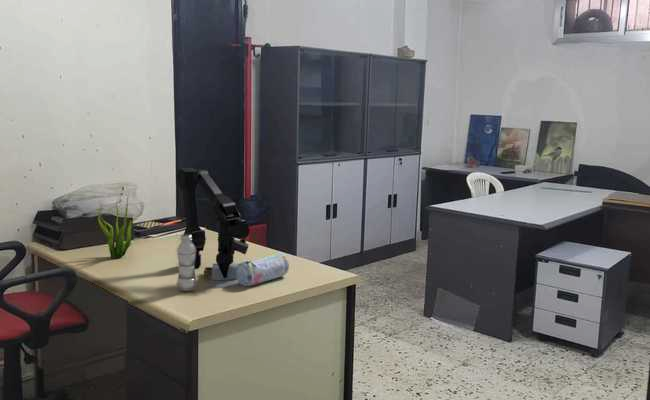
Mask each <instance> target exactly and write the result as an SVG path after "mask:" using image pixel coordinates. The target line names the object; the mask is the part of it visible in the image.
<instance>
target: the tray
mask: <svg viewBox="0 0 650 400" xmlns="http://www.w3.org/2000/svg"><path fill="white" fill-rule="evenodd" d="M203 279H204V280H212V267H211V266H209V267H207V266H205V267H204V270H203Z"/></svg>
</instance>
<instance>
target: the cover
mask: <svg viewBox="0 0 650 400" xmlns="http://www.w3.org/2000/svg"><path fill="white" fill-rule="evenodd" d="M239 263H240V262H239ZM239 263H237V262H236V263H234V262H233V263H231V264H230V265H229V269H228V274H227V278H224V277H223V275H222V273H221V270H220V268H219V266H218V264H217V263H212V279H211V281H215V280H216V281H217V280H218V281H219V280H237V275H236V269H237V266H238V264H239Z"/></svg>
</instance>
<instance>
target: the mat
mask: <svg viewBox="0 0 650 400" xmlns="http://www.w3.org/2000/svg"><path fill="white" fill-rule="evenodd" d="M239 288H240V289H241V288H242V285H241V284H240V283H239V282H238V280H235V281H234V280H227V281H226V280H225V281H224V280H221V281H219V280H218V281H217V280H216V281H215V280H211V281H210V280H209V281H208V282H207V285H206V289H239Z"/></svg>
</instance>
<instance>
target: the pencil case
mask: <svg viewBox="0 0 650 400" xmlns="http://www.w3.org/2000/svg"><path fill="white" fill-rule="evenodd" d="M289 267H290V263H289V260H288V258H287V256H286V255H284V253H281V252H278V253H276V254H273V255H272V254H271V255H270V256H269V255H268V256H266V257H263V258H260V259H256V260H255V259H254V260H244V261H242V262H239V264H238V266H237V269H236V275H237V279H236V281H238V282H239V283H240V284H241V286H242V287H243V286H244V287H251V286H256V285H258V284H262V283H263V284H264V283H265V282H269V281H272V280H276V279H278V278H281V277H283V276H286V275H287V273H288V271H289V269H290V268H289Z"/></svg>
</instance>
